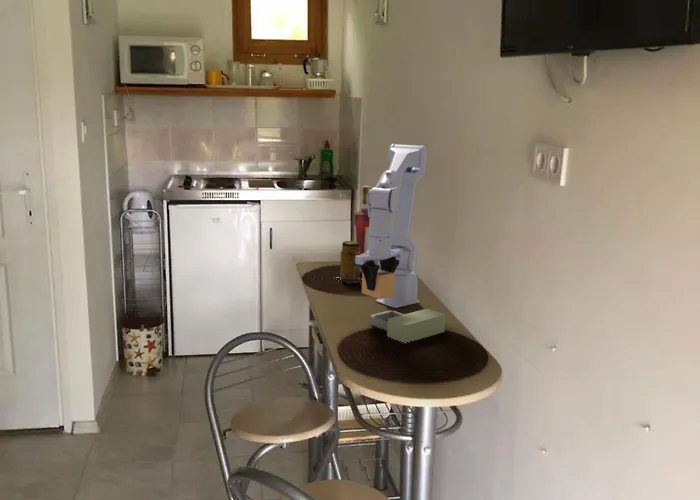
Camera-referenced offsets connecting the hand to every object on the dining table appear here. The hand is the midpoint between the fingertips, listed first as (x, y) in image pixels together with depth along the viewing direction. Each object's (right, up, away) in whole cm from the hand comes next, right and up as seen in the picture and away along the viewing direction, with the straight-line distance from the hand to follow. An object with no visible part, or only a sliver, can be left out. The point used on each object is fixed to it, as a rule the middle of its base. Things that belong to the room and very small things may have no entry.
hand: (378, 288), depth 180 cm
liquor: (-3, +2, +50) cm, 50 cm away
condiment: (-7, 0, +40) cm, 41 cm away
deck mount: (+6, -10, -3) cm, 12 cm away
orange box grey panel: (0, -2, 0) cm, 2 cm away
